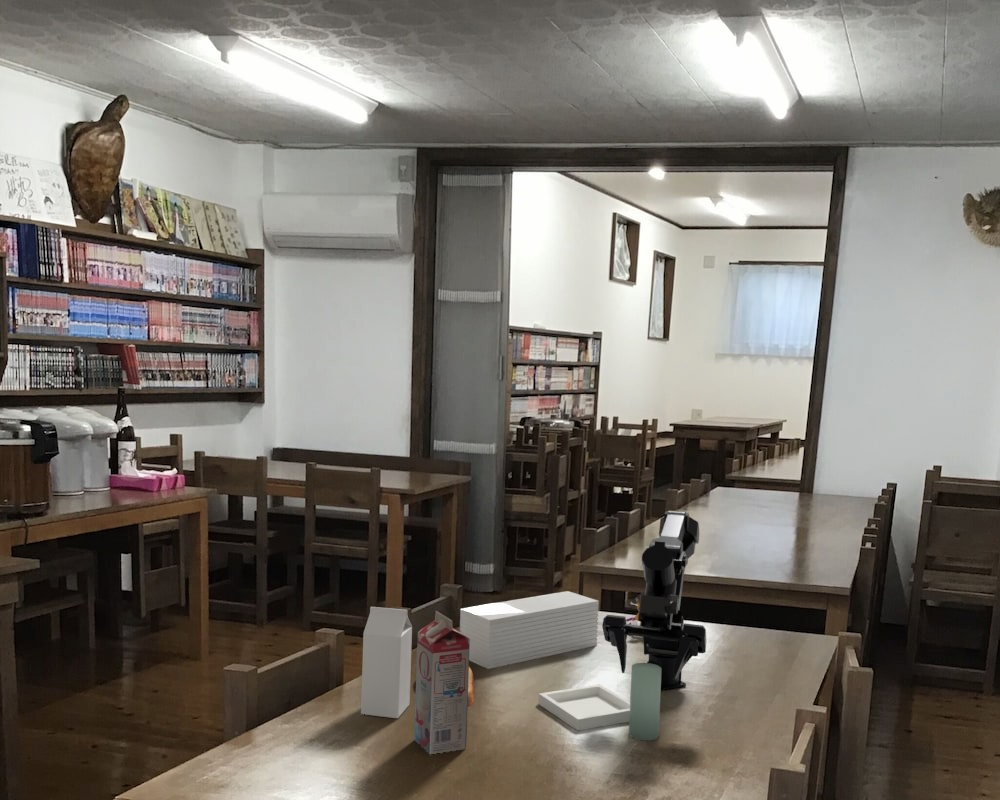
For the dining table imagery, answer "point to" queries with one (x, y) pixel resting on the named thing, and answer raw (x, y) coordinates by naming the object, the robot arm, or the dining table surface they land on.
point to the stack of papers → (529, 628)
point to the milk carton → (386, 663)
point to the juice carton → (441, 687)
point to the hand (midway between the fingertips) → (648, 675)
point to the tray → (587, 706)
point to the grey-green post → (645, 701)
